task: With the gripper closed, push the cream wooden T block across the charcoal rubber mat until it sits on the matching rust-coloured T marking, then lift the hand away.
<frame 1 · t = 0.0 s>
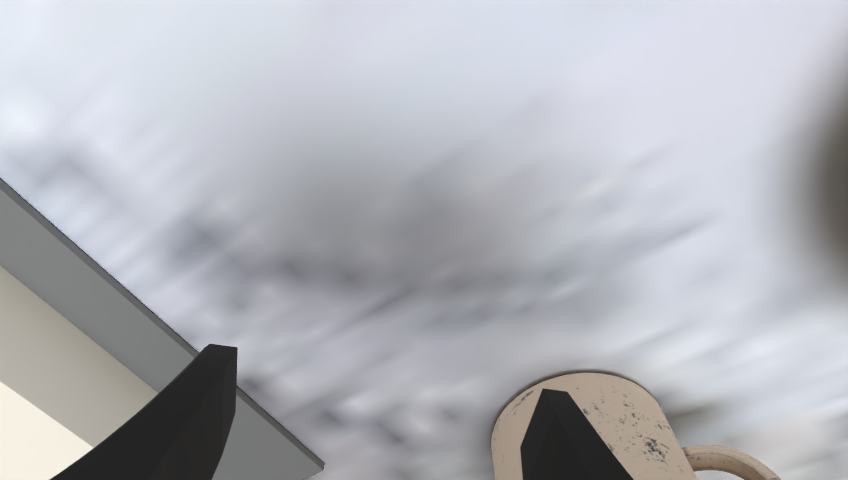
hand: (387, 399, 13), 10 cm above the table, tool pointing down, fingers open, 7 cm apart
t block: (52, 400, 26), resting on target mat
teacup with lid: (602, 424, 28), on the table
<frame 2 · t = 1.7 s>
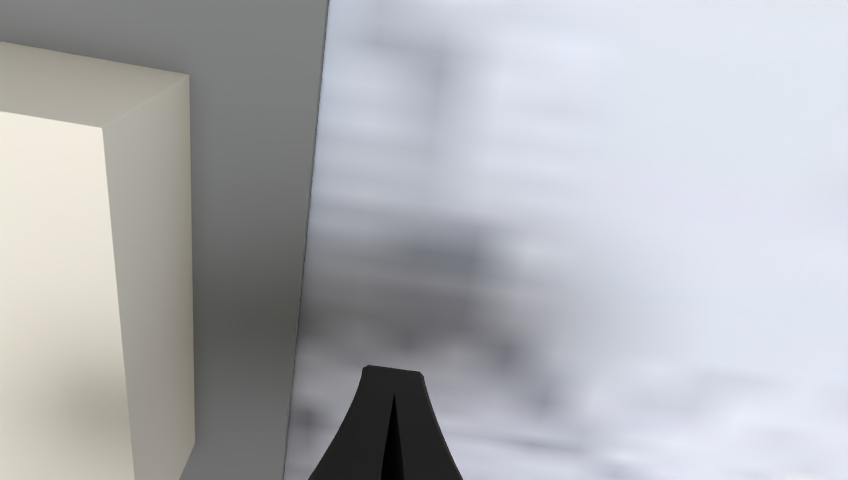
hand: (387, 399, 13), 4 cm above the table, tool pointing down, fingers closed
t block: (24, 269, 15), resting on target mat
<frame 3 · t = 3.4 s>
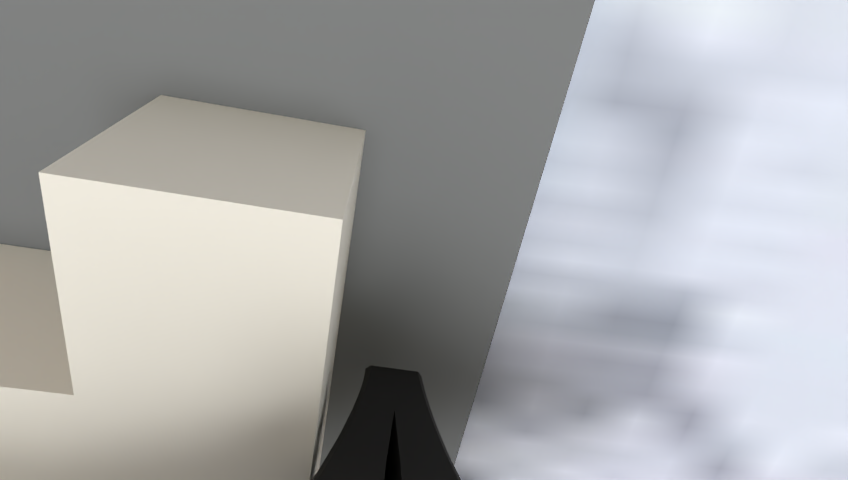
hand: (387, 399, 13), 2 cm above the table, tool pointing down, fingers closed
t block: (154, 334, 14), resting on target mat, touching gripper
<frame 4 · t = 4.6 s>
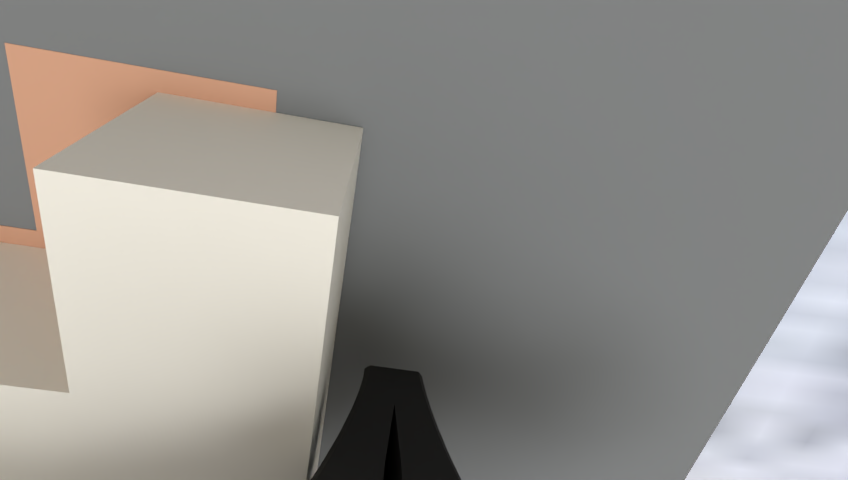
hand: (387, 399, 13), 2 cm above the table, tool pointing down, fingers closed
t block: (152, 332, 14), resting on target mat, touching gripper
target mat: (202, 329, 14), on the table
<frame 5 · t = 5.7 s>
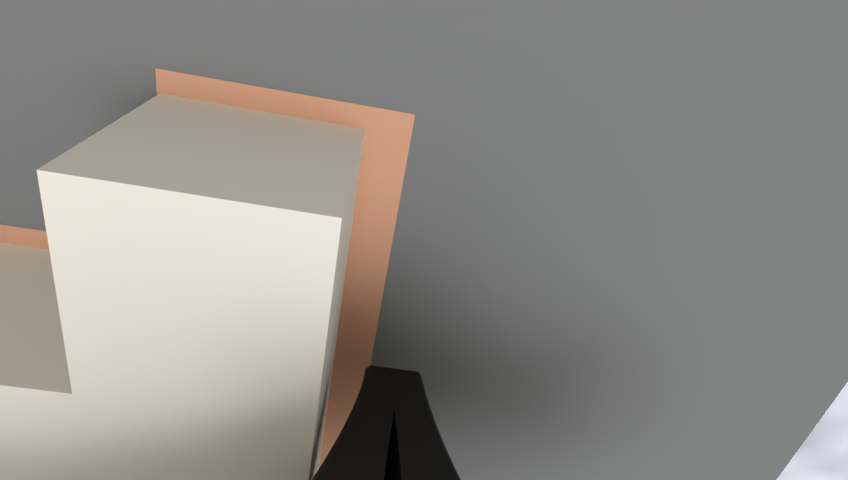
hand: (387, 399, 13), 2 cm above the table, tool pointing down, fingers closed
t block: (153, 333, 14), resting on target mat, touching gripper
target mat: (310, 343, 14), on the table
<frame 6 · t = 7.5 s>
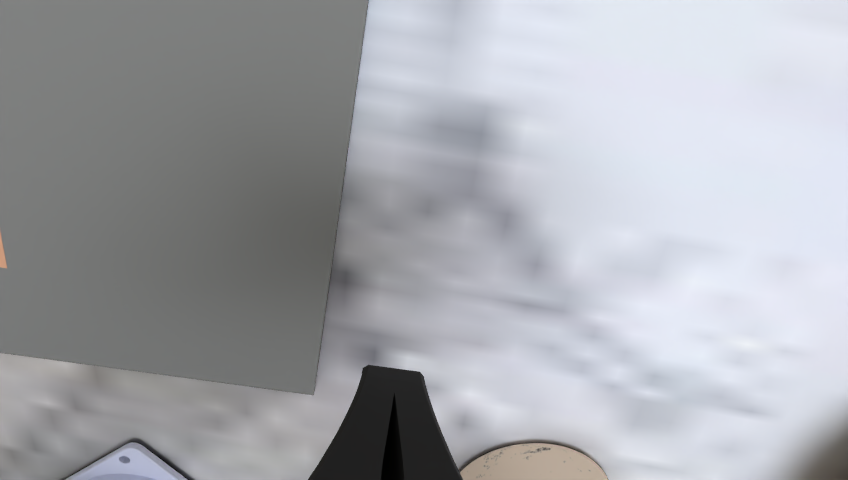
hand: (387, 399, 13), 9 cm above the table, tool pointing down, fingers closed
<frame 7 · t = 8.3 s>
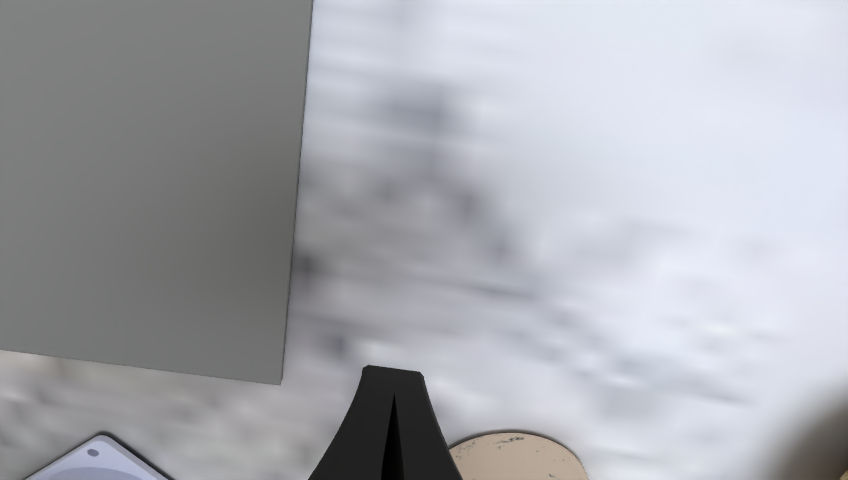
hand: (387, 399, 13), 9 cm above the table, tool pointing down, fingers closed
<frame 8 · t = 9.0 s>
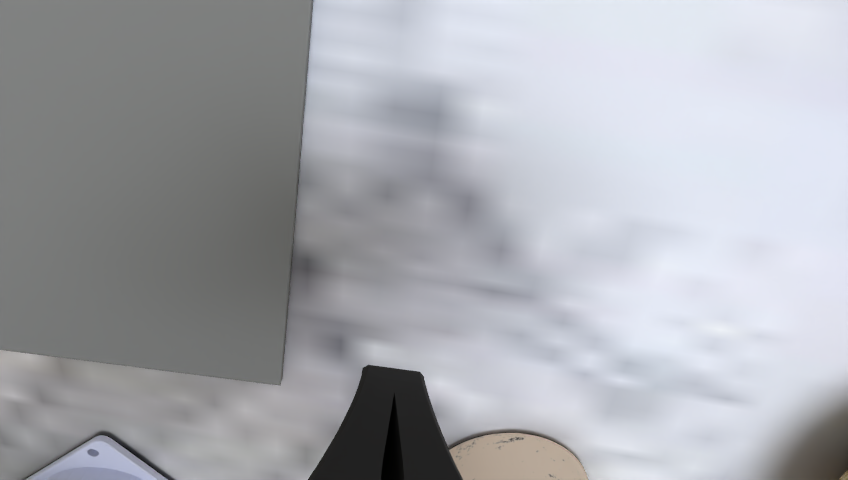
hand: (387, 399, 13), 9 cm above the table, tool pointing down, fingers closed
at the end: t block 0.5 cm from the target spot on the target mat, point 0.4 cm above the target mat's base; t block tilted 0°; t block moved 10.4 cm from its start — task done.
